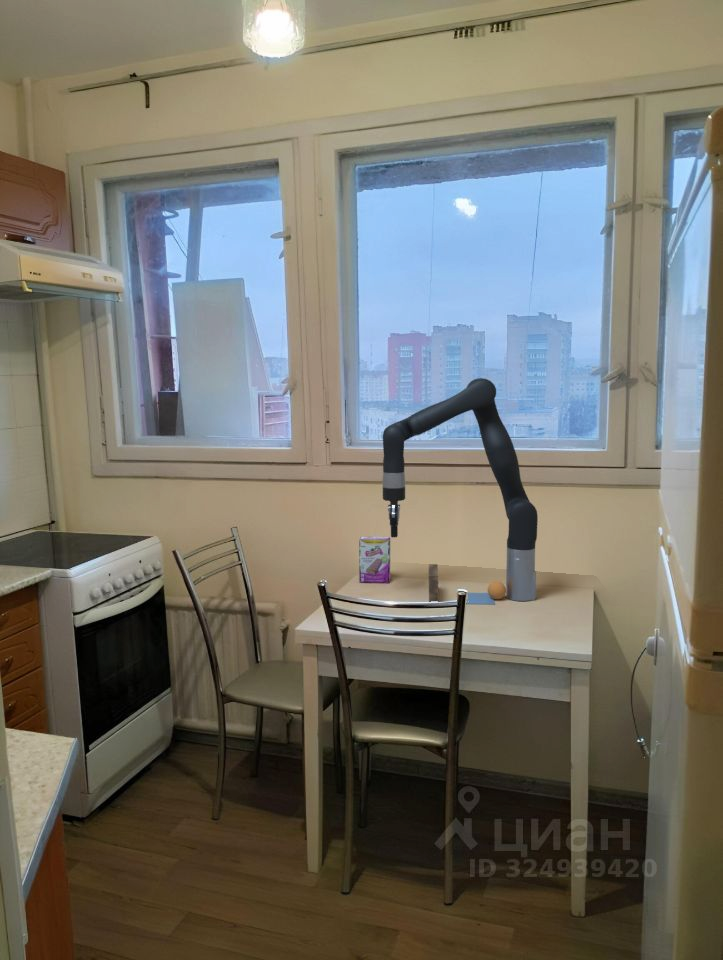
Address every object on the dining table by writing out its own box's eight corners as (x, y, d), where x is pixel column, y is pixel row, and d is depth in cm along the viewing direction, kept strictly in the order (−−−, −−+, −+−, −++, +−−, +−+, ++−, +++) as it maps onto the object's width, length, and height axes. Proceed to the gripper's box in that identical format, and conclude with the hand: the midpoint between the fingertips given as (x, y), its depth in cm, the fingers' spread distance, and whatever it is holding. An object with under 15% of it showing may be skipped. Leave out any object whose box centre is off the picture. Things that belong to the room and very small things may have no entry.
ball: (508, 591, 238) (499, 575, 237) (510, 596, 232) (501, 580, 231) (492, 599, 239) (483, 584, 238) (493, 604, 233) (485, 589, 232)
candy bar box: (359, 583, 256) (358, 539, 254) (360, 579, 261) (360, 536, 259) (390, 583, 255) (389, 539, 253) (390, 579, 260) (390, 536, 258)
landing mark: (491, 593, 242) (491, 592, 242) (495, 604, 230) (495, 603, 230) (456, 593, 243) (456, 592, 243) (458, 603, 231) (458, 603, 231)
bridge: (437, 591, 245) (437, 564, 243) (438, 605, 230) (438, 576, 229) (428, 591, 245) (428, 564, 244) (429, 604, 230) (429, 576, 229)
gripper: (404, 488, 226) (404, 541, 229) (405, 482, 239) (406, 532, 242) (381, 488, 227) (381, 541, 230) (383, 482, 240) (384, 532, 243)
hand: (394, 536), depth 236 cm, fingers closed
